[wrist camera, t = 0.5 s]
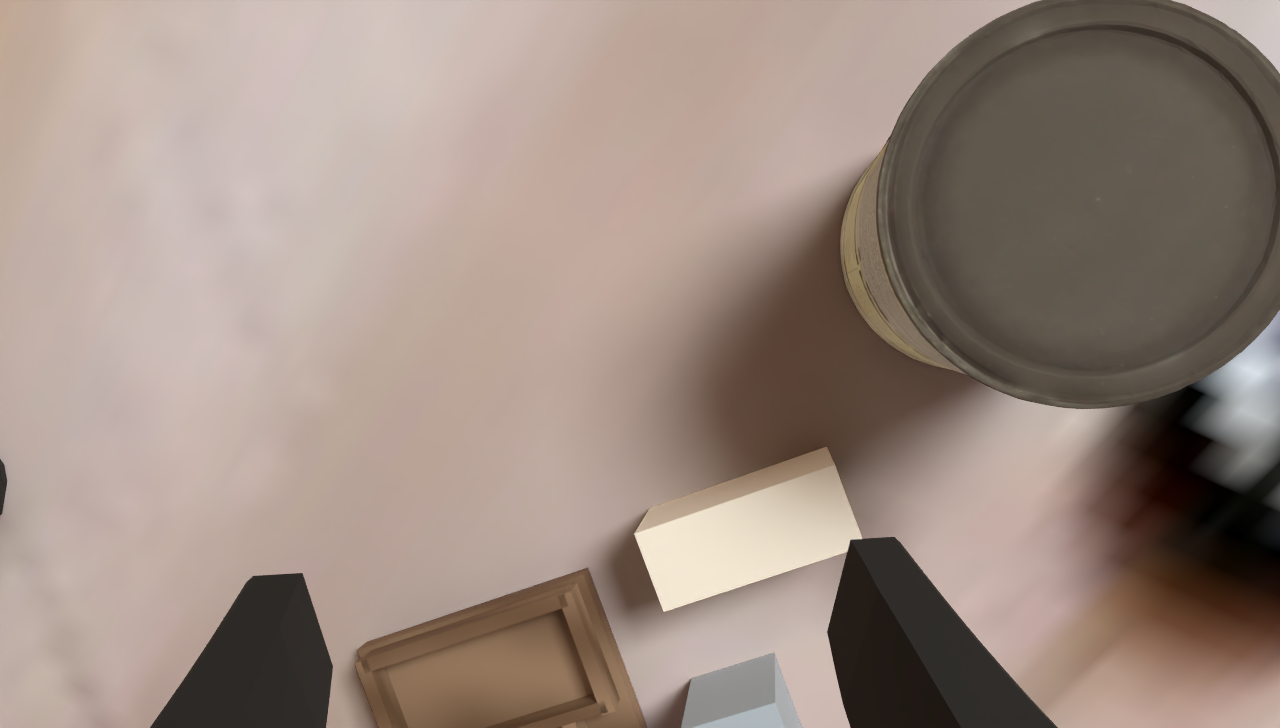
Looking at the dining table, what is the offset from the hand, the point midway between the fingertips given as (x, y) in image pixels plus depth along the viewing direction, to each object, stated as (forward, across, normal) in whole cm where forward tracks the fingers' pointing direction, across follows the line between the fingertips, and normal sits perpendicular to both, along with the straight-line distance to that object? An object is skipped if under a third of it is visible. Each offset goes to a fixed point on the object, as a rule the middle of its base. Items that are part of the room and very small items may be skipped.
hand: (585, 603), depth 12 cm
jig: (+14, +2, +28) cm, 31 cm away
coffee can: (+22, -16, +8) cm, 29 cm away
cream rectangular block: (+18, -8, +18) cm, 27 cm away
